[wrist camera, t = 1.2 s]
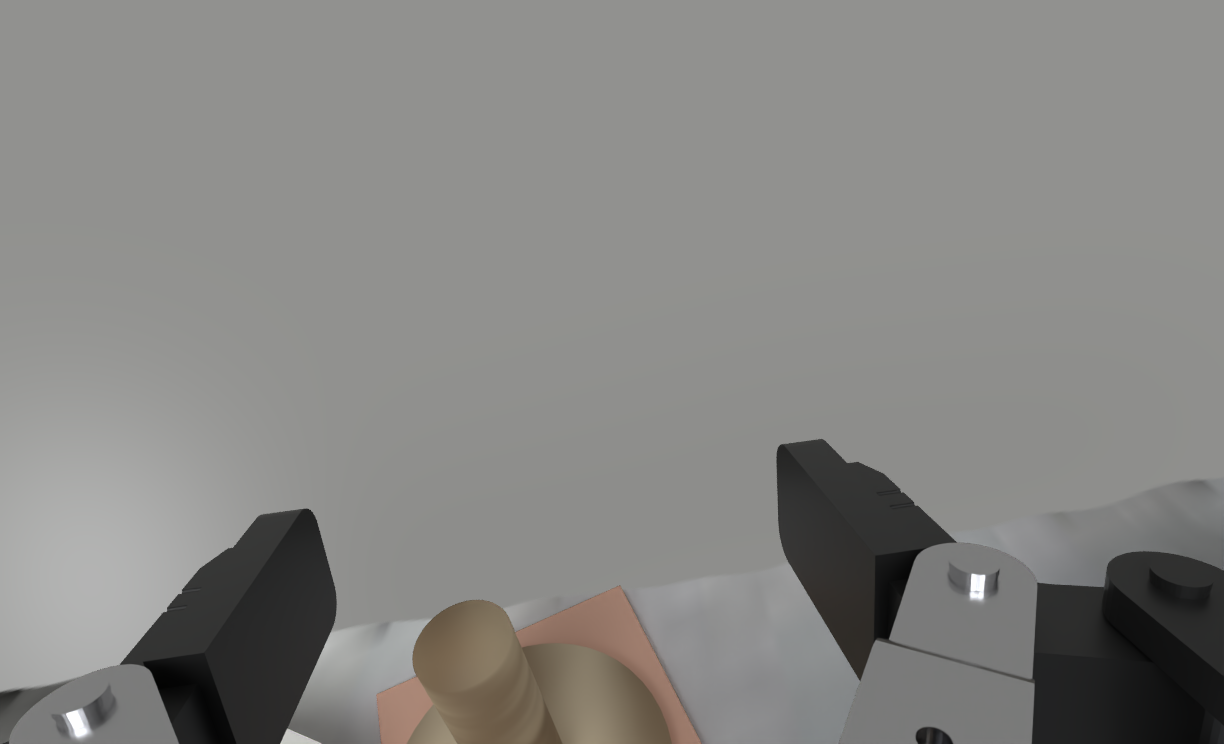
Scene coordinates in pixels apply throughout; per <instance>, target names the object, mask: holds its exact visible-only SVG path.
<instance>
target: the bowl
mask: <svg viewBox="0 0 1224 744" xmlns="http://www.w3.org/2000/svg"><path fill="white" fill-rule="evenodd" d="M280 744H322V743H319V742H317V741H315V740H313V739H310V738H308V737H306V736H304V735H301V734H299V733H297V732H294V731H292V730H290V729H288V728H287V730H286V732H285V734H284V737H283V739H282V741H281V743H280Z"/></svg>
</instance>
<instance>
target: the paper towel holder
mask: <svg viewBox="0 0 1224 744" xmlns="http://www.w3.org/2000/svg"><path fill="white" fill-rule="evenodd" d="M413 667H414V671H415V673H416V675H417V677H418V679H419V680H420V682H421V684H422V685H423V687H424V689H425V691H426V692H427V694H428V696H429V697H430V699H431V701H432V702H433V705H432V707H431V708H430V709H429V710H428V711H427V712H426V714H425V715H424V717H423V718H422V720H421V721H420V722H419V724H418V725H417V727H416V728H415V730H414V731H413V733H412V735H411V737H410V739H409V740H408V742H407V744H672V742H671V738H670V734H669V730H668V726H667V724H666V721H665V719H664V716H663V714H662V711H661V709H660V707H659V705H658V704H657V702H656V700H655V698H654V697H653V695H652V693H651V692H650V691H649V690H648V688H647V687H646V686H645V684H644V683H643V682H642V681H641V680H640V679H639V678H638V677H637V676H636V675H635V674H634V673H633V672H632V671H631V670H630V669H629V668H627V667H626V666H624V665H623V664H622V663H620V662H619V661H618V660H616V659H614V658H612V657H610V656H608V655H606V654H605V653H602V652H599V651H597V650H594V649H591V648H588V647H583V646H579V645H574V644H563V643H549V644H538V645H532V646H526V647H521V645H520V643H519V640H518V638H517V636H516V633H515V631H514V628H513V626H512V624H511V621H510V619H509V617H508V615H507V614H506V612H505V611H504V610H503V609H502V608H501V607H499V606H498V605H496V604H494V603H492V602H489V601H484V600H470V601H465V602H461V603H458V604H455V605H453V606H451V607H448V608H447V609H445V610H443V611H442V612H440V613H439V614H438V615H436V616H435V617H434V618H433V619H432V620H431V621H430V622H429V623H428V624H427V625H426V626H425V628H424V629H423V630H422V632H421V634H420V635H419V637H418V639H417V641H416V644H415V647H414V651H413Z"/></svg>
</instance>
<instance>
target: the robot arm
mask: <svg viewBox="0 0 1224 744" xmlns="http://www.w3.org/2000/svg"><path fill="white" fill-rule="evenodd" d="M777 489H778V490H777V491H778V521H779V533H780V538H781V543H782V547H783V550H784V553H785V556H786V558H787V560H788V562H789V564H790V565H791V567H792V569H793V570H794V572H795V574H796V575H797V577H798V579H799V580H800V582H801V584H802V585H803V587H804V589H805V590H806V592H807V594H808V595H809V597H810V599H811V600H812V602H813V604H814V605H815V607H816V609H817V610H818V612H819V614H820V615H821V617H822V619H823V620H824V622H825V624H826V625H827V627H828V628H829V630H830V632H831V633H832V635H833V637H834V638H835V640H836V642H837V643H838V645H839V647H840V648H841V650H842V652H843V653H844V655H845V657H846V658H847V660H848V662H849V663H850V665H851V667H852V668H853V670H854V672H855V673H856V675H857V677H858V678H859V680H860V684H859V687H858V690H857V692H856V695H855V698H854V701H853V704H852V707H851V710H850V712H849V715H848V718H847V721H846V724H845V727H844V730H843V732H842V735H841V738H840V741H839V744H1224V571H1223V570H1221V569H1219V568H1217V567H1214V566H1212V565H1209V564H1207V563H1204V562H1201V561H1198V560H1195V559H1192V558H1188V557H1184V556H1180V555H1174V554H1169V553H1161V552H1145V551H1143V552H1131V553H1126V554H1122V555H1119V556H1117V557H1115V558H1114V559H1112V560H1111V561H1110V562H1109V564H1108V567H1107V572H1106V579H1105V586H1104V587H1088V586H1072V585H1055V584H1043V583H1037V580H1036V578H1035V576H1034V574H1033V573H1032V572H1031V570H1030V569H1029V568H1028V567H1027V566H1026V565H1024V564H1023V563H1022V562H1020V561H1019V560H1017V559H1016V558H1014V557H1012V556H1010V555H1008V554H1006V553H1004V552H1001V551H999V550H996V549H993V548H990V547H986V546H982V545H976V544H970V543H957V542H956V541H955V540H954V539H953V538H952V537H951V536H949V535H948V534H947V533H946V532H945V531H944V530H943V529H942V528H941V527H940V526H939V525H938V524H937V523H936V522H935V521H933V520H932V519H931V518H930V517H929V516H928V515H927V514H926V513H925V512H924V511H923V510H922V509H921V508H920V507H919V506H915V505H914V502H913V501H912V500H911V499H910V498H909V497H908V496H907V495H906V494H905V493H901V491H900V489H899V488H898V487H897V486H896V485H895V484H894V483H893V482H892V481H891V480H889V478H888V477H886V476H885V475H884V474H883V473H881V472H879V471H876V470H874V469H872V468H870V467H868V466H865V465H863V464H861V463H859V462H854V463H846V462H845V461H844V460H843V459H842V457H841V456H839V454H838V453H836V451H835V450H833V448H832V447H831V446H830V445H829V444H828V443H827V442H826V441H824V440H823V439H818V440H811V441H804V442H796V443H789V444H782V445H780V446H779V447H778V450H777ZM335 616H336V591H335V586H334V582H333V579H332V575H331V571H330V568H329V564H328V561H327V556H326V553H325V550H324V545H323V542H322V538H321V535H320V531H319V527H318V523H317V520H316V518H315V516H314V514H313V512H311V510H309V509H299V510H293V511H285V512H277V513H270V514H263V515H260V516H258V517H257V518H256V520H255V521H254V522H253V523H252V525H251V526H250V527H249V528H248V530H247V531H246V532H245V533H244V535H243V536H242V537H241V538H240V540H239V541H238V542H237V544H236V545H235V546H234V547H233V548H228V549H227V550H225V551H224V552H223V553H221V554H220V555H219V556H217V557H215V558H214V559H213V560H211V561H210V562H209V563H207V564H206V565H204V566H203V567H202V568H200V569H199V570H198V571H197V573H196V574H195V575H194V576H193V578H192V579H191V580H190V581H189V582H188V584H187V585H186V586H185V587H184V588H183V589H182V594H178V595H177V597H176V598H175V599H174V600H173V601H172V603H171V604H170V605H169V606H168V607H167V612H164V613H163V614H162V615H161V616H160V617H159V618H158V619H157V621H156V622H155V623H154V624H153V625H152V627H151V628H150V629H149V630H148V631H147V633H146V634H145V635H144V636H143V637H142V639H141V640H140V641H139V642H138V643H137V645H136V646H135V647H134V648H133V649H132V651H131V652H130V653H129V654H128V655H127V657H126V658H125V659H124V660H123V661H122V662H121V664H120V665H117V666H112V667H108V668H104V669H100V670H97V671H95V672H92V673H89V674H87V675H84V676H82V677H79V678H77V679H75V680H73V681H71V682H69V683H67V684H65V685H64V686H62V687H60V688H58V689H57V690H55V691H53V692H52V693H51V694H49V695H48V696H46V697H45V698H43V699H42V700H41V701H39V702H38V703H37V704H35V705H34V706H33V707H32V708H31V709H30V710H29V711H28V712H27V713H26V714H25V715H24V716H23V717H22V718H21V719H20V720H19V721H18V723H17V724H16V726H15V727H14V729H13V731H12V733H11V735H10V739H9V742H6V743H3V744H280V743H281V741H282V739H283V737H284V734H285V732H286V730H287V728H288V726H289V723H290V721H291V719H292V717H293V714H294V712H295V710H296V708H297V705H298V703H299V701H300V699H301V697H302V694H303V692H304V690H305V688H306V685H307V683H308V681H309V679H310V677H311V674H312V672H313V670H314V668H315V665H316V663H317V661H318V659H319V657H320V654H321V652H322V650H323V648H324V645H325V643H326V641H327V639H328V636H329V634H330V632H331V630H332V627H333V625H334V621H335Z"/></svg>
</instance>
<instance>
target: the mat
mask: <svg viewBox="0 0 1224 744" xmlns="http://www.w3.org/2000/svg"><path fill="white" fill-rule="evenodd" d="M515 633H516V636H517V638H518V640H519V643H520V645H521V647H526V646H532V645H538V644H549V643H563V644H574V645H579V646H583V647H588V648H591V649H594V650H597V651H599V652H602V653H605V654H606V655H608V656H610V657H612V658H614V659H616V660H618V661H619V662H620V663H622V664H623V665H624V666H626V667H627V668H629V669H630V670H631V671H632V672H633V673H634V674H635V675H636V676H637V677H638V678H639V679H640V680H641V681H642V682H643V683H644V684H645V686H646V687H647V688H648V690H649V691H650V692H651V693H652V695H653V697H654V698H655V700H656V702H657V704H658V705H659V707H660V709H661V711H662V714H663V716H664V719H665V721H666V724H667V726H668V730H669V734H670V738H671V742H672V744H702V743H701V742H700V740H699V738H698V736H697V734H696V732H695V730H694V728H693V726H692V724H691V722H690V720H689V718H688V716H687V714H686V712H685V710H684V709H683V707H682V705H681V703H680V701H679V699H678V697H677V695H676V693H675V691H674V689H673V687H672V685H671V683H670V681H669V679H668V677H667V675H666V674H665V672H664V670H663V668H662V666H661V664H660V662H659V660H658V658H657V656H656V654H655V652H654V650H653V648H652V646H651V644H650V642H649V641H648V639H647V637H646V635H645V633H644V631H643V629H642V627H641V625H640V623H639V621H638V619H637V617H636V615H635V613H634V611H633V609H632V608H631V606H630V604H629V602H628V600H627V598H626V596H625V594H624V592H623V590H622V588H621V586H617V587H615V588H613V589H610V590H608V591H606V592H604V593H602V594H599V595H597V596H595V597H593V598H590V599H588V600H586V601H584V602H581V603H579V604H577V605H575V606H573V607H570V608H568V609H566V610H564V611H561V612H559V613H557V614H555V615H553V616H550V617H548V618H546V619H544V620H541V621H539V622H537V623H535V624H532V625H530V626H528V627H526V628H524V629H521V630H519V631H517V632H515ZM376 696H377V706H378V716H379V726H380V736H381V744H407V742H408V740H409V739H410V737H411V735H412V733H413V731H414V730H415V728H416V727H417V725H418V724H419V722H420V721H421V720H422V718H423V717H424V715H425V714H426V712H427V711H428V710H429V709H430V708H431V707H432V705H433V702H432V701H431V699H430V697H429V696H428V694H427V692H426V691H425V689H424V687H423V685H422V684H421V682H420V680H419V679H418V677H414V678H412V679H410V680H408V681H406V682H403V683H401V684H399V685H397V686H394V687H392V688H390V689H388V690H385V691H383V692H381V693H379V694H377V695H376Z"/></svg>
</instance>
